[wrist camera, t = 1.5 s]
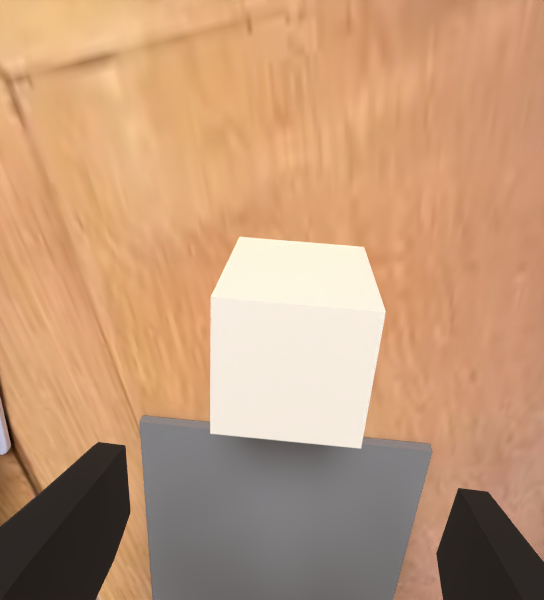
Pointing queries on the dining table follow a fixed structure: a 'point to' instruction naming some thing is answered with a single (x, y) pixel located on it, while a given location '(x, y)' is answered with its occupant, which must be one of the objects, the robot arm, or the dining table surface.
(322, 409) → the cream block
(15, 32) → the dining table surface
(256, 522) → the charcoal mat
